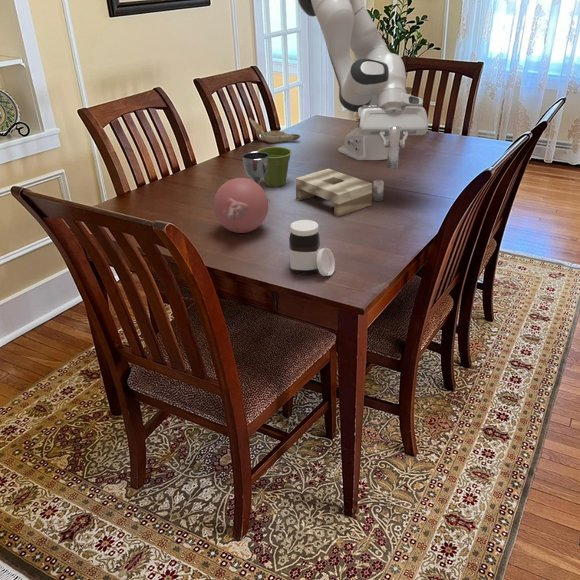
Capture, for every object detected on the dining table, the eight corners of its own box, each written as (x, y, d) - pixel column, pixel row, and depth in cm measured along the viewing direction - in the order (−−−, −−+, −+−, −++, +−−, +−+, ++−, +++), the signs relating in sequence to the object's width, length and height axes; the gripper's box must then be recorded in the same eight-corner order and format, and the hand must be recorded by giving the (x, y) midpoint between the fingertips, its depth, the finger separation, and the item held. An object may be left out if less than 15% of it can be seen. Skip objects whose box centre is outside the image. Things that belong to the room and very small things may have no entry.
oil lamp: (253, 138, 255) (251, 115, 250) (302, 139, 251) (301, 115, 246) (248, 144, 248) (246, 120, 243) (298, 145, 244) (298, 121, 239)
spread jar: (290, 258, 154) (289, 217, 149) (333, 258, 154) (334, 216, 148) (288, 281, 144) (287, 237, 138) (335, 280, 144) (336, 237, 138)
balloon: (202, 246, 162) (196, 193, 154) (226, 218, 179) (221, 169, 171) (256, 251, 159) (253, 197, 151) (275, 221, 176) (273, 171, 168)
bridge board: (296, 199, 191) (295, 178, 188) (328, 188, 199) (328, 168, 195) (338, 216, 178) (339, 194, 174) (371, 204, 185) (372, 183, 182)
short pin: (370, 199, 189) (371, 181, 186) (377, 196, 191) (378, 178, 188) (378, 201, 187) (378, 183, 184) (385, 199, 189) (386, 181, 186)
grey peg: (384, 166, 178) (387, 126, 172) (392, 164, 180) (395, 125, 174) (391, 169, 176) (394, 128, 170) (399, 167, 178) (403, 127, 172)
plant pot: (251, 184, 204) (249, 152, 198) (275, 175, 212) (273, 144, 206) (275, 192, 197) (274, 159, 191) (299, 183, 204) (299, 150, 199)
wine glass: (274, 198, 192) (272, 153, 185) (263, 207, 186) (261, 160, 179) (253, 195, 195) (250, 150, 188) (241, 203, 189) (238, 157, 182)
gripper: (358, 99, 175) (359, 141, 172) (428, 98, 175) (430, 141, 171) (356, 111, 181) (357, 152, 178) (424, 110, 181) (426, 151, 177)
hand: (393, 146), depth 174 cm, fingers closed on grey peg, 3 cm apart
